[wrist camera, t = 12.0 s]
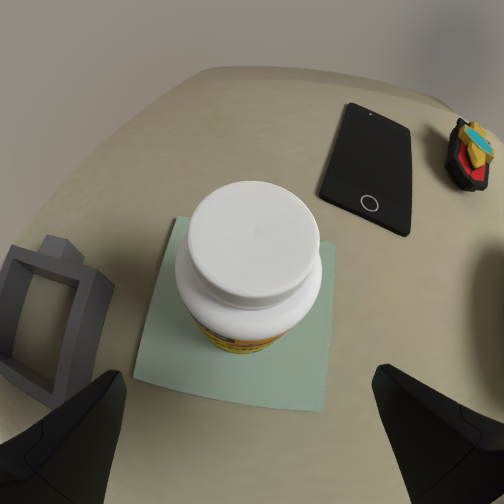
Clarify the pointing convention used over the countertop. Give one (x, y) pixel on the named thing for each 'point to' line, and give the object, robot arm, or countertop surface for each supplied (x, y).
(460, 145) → the gadget
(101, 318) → the collar
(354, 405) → the countertop surface
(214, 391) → the mat
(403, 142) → the cell phone
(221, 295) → the supplement bottle
